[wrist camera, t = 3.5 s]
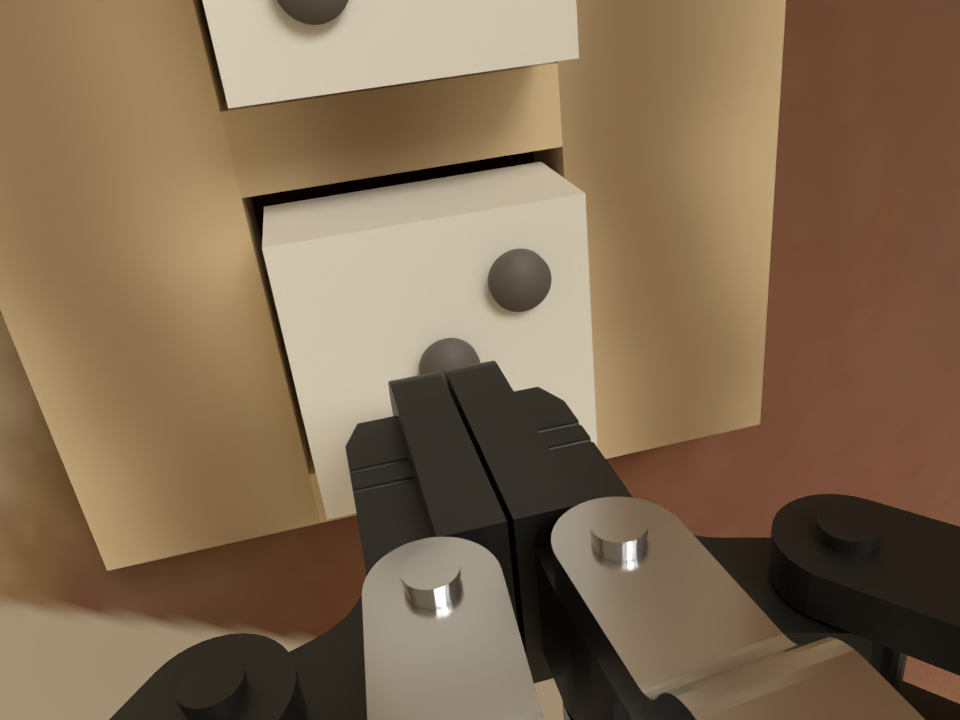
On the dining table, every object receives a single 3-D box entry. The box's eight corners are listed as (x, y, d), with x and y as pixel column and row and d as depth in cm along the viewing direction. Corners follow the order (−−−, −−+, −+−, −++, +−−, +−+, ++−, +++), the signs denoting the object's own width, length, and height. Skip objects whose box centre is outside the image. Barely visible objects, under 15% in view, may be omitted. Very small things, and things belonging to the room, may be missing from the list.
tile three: (540, 161, 15) (589, 196, 12) (557, 398, 17) (601, 464, 15) (264, 206, 14) (262, 252, 12) (320, 448, 16) (327, 526, 14)
